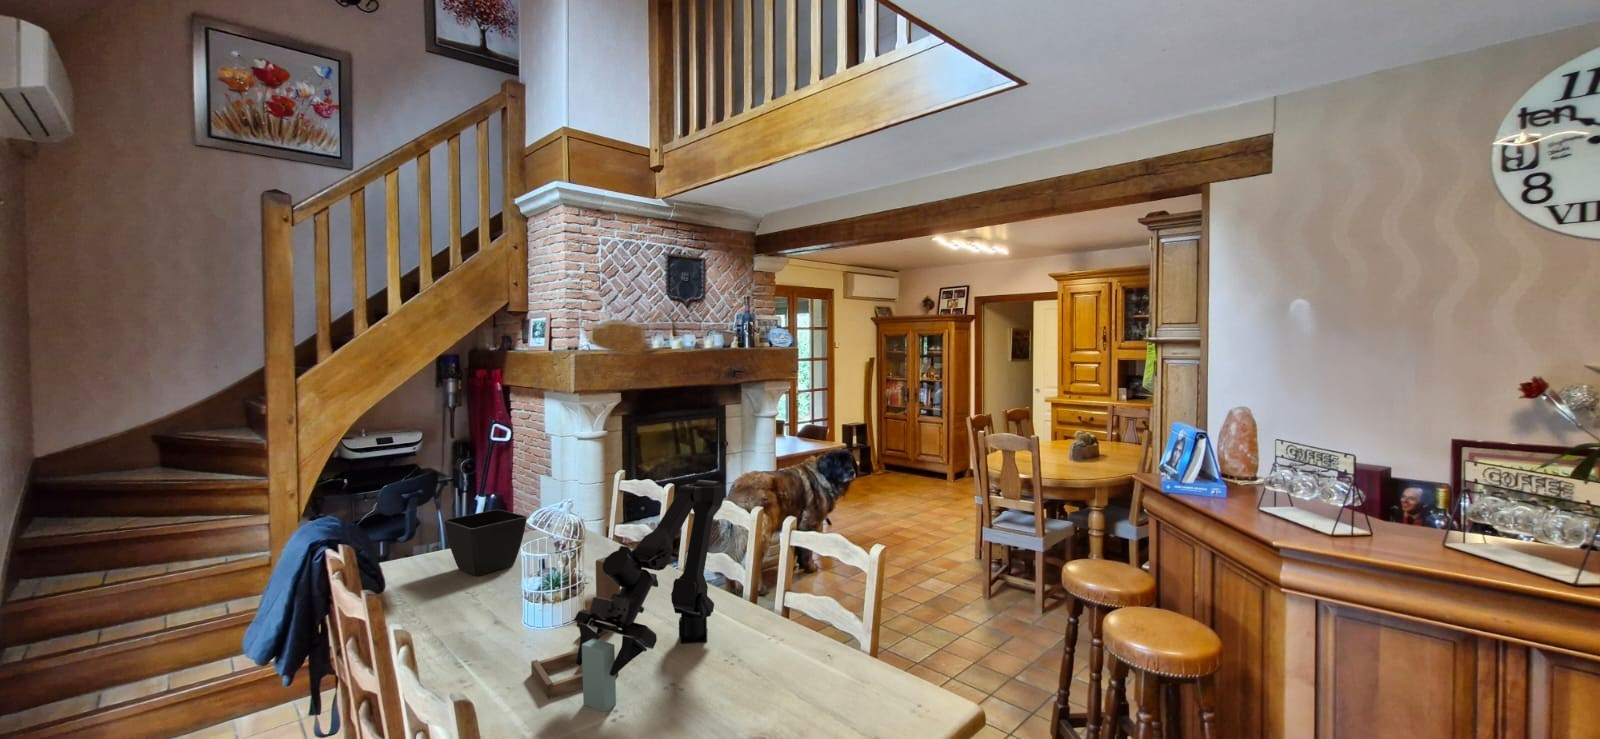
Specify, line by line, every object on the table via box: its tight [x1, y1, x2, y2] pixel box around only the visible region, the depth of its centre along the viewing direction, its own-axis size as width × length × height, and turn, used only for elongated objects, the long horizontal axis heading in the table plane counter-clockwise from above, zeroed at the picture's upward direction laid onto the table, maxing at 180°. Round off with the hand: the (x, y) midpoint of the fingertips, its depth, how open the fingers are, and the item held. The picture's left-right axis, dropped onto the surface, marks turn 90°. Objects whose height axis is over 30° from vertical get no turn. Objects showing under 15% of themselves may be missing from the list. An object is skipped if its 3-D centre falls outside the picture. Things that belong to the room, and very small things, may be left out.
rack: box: [530, 649, 619, 700], centre depth 138 cm, size 15×12×3 cm
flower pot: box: [443, 509, 528, 577], centre depth 207 cm, size 19×19×17 cm
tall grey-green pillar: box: [582, 638, 617, 713], centre depth 126 cm, size 3×6×12 cm, turn 62°
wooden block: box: [595, 556, 621, 636], centre depth 159 cm, size 9×4×18 cm, turn 144°
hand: (594, 670), depth 125 cm, fingers open, 9 cm apart
